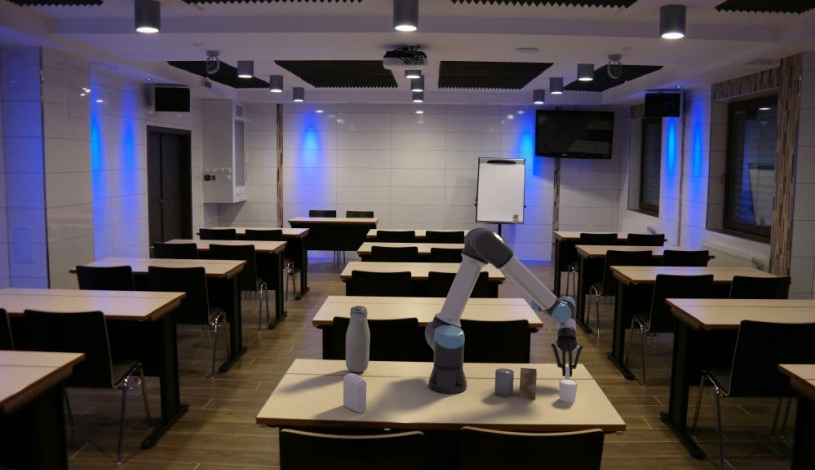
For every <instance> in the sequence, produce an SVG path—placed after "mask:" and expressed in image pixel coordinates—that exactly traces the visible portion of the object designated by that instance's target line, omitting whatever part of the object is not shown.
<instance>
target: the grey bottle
mask: <svg viewBox="0 0 815 470" xmlns="http://www.w3.org/2000/svg"><path fill="white" fill-rule="evenodd" d="M368 312H369V311H368V308H366V306H364V305H354V306H352V307H351V308H350V313H349V316H350V318H349V322H348V323H349V324H348V327H347V329H346V333H345V366H346V368H347V370H348V371H349V372H351V373H363V372H364V371H366V370H367V368H368V367H369V361H370V343H371V332H370V328H369V323H368Z"/></svg>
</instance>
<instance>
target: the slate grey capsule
mask: <svg viewBox="0 0 815 470" xmlns="http://www.w3.org/2000/svg"><path fill="white" fill-rule="evenodd" d="M514 375H515V371H514V370H513V369H510V368H503V367H501V368H497V369H495V375H494V395H495V396H497V397H500V398H511V397H513V394H514Z"/></svg>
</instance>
